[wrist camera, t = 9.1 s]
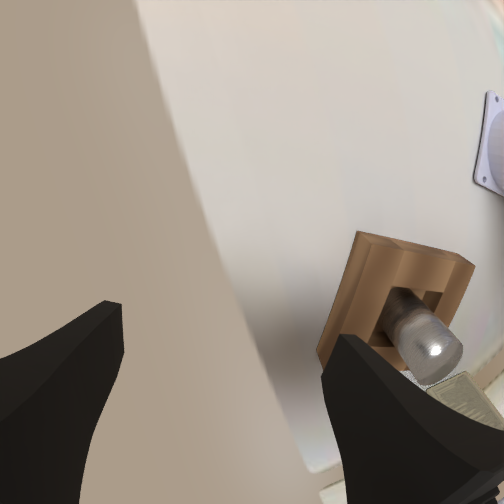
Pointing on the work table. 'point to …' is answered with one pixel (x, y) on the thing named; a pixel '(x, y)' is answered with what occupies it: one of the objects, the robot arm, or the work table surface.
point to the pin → (419, 336)
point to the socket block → (385, 278)
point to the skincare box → (467, 400)
